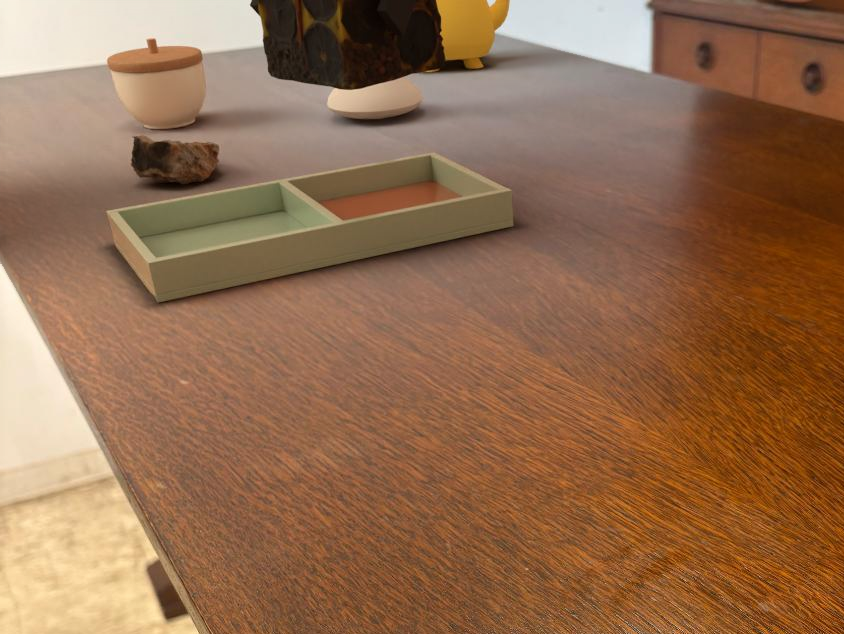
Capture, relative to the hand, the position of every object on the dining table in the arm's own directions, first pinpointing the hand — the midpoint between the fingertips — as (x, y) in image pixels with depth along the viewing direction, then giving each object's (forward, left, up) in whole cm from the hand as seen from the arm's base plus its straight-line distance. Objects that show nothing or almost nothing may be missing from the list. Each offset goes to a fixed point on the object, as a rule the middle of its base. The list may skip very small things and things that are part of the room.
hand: (325, 20), depth 81 cm
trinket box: (-57, -2, -17) cm, 59 cm away
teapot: (-67, +42, -17) cm, 81 cm away
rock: (-32, -7, -17) cm, 37 cm away
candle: (-1, +2, -4) cm, 5 cm away
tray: (-5, -2, -17) cm, 18 cm away
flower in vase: (-44, +19, -17) cm, 51 cm away
